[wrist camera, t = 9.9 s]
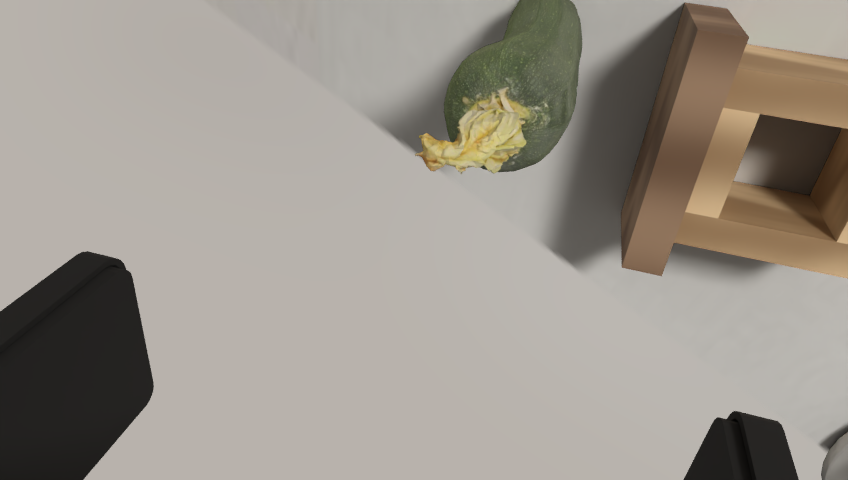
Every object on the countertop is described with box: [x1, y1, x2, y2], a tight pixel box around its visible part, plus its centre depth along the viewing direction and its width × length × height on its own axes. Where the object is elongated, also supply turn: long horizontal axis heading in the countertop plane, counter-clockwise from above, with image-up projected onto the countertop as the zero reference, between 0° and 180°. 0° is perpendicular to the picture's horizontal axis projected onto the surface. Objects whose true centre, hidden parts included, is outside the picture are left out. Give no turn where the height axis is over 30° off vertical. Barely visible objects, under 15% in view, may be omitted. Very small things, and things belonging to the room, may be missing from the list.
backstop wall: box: [621, 3, 749, 276], centre depth 31 cm, size 12×2×6 cm, turn 175°
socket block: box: [674, 44, 848, 278], centre depth 31 cm, size 9×9×5 cm
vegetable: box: [415, 0, 582, 174], centre depth 25 cm, size 4×4×20 cm
